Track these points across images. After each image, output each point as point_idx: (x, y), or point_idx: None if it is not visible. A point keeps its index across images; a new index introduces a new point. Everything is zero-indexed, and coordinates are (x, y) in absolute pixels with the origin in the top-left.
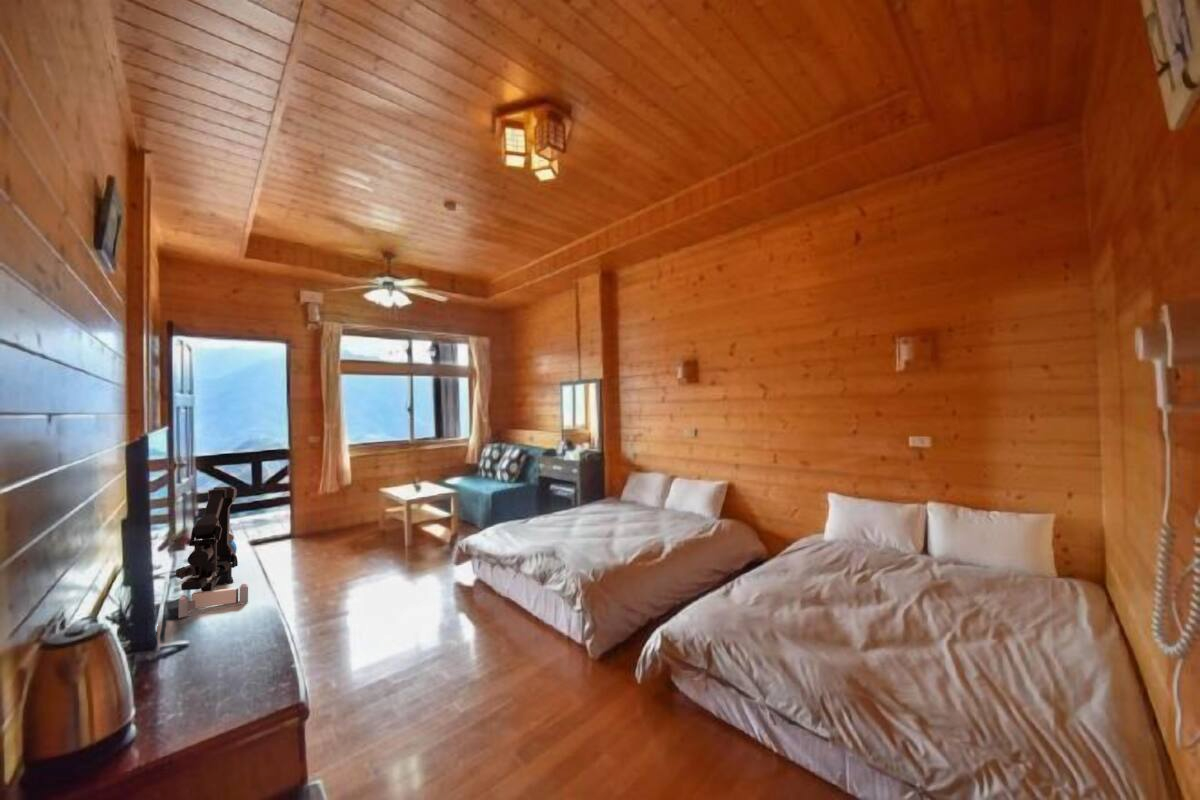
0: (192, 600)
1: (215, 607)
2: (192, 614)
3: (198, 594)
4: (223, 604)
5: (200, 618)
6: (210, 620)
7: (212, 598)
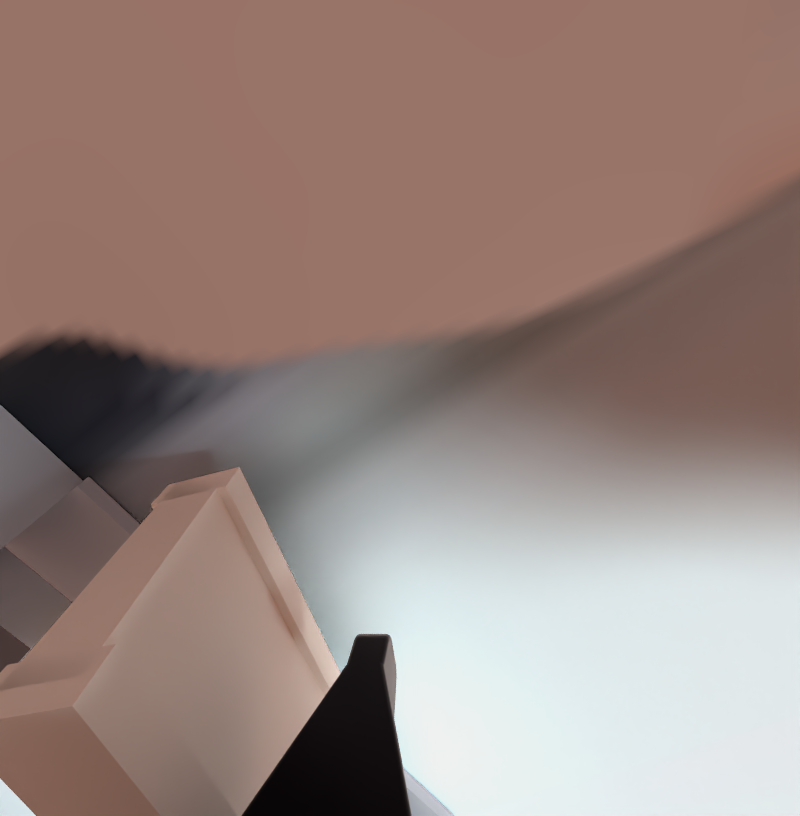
0: (97, 587)
1: None
2: (49, 575)
3: (63, 801)
4: None
5: None
6: None
7: None
